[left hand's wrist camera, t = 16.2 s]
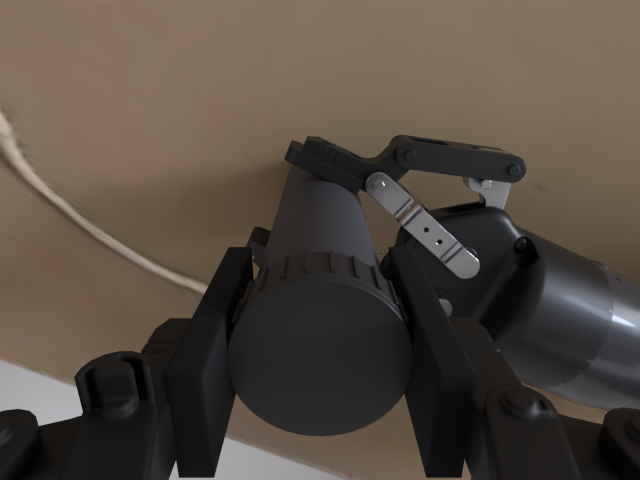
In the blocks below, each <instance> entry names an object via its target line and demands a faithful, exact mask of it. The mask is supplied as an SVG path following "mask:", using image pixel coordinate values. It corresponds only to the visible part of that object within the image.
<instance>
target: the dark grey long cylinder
mask: <svg viewBox="0 0 640 480" xmlns="http://www.w3.org/2000/svg"><path fill="white" fill-rule="evenodd" d="M306 250H310V252H319V251H320V252H329V251H330V250H334V253H339V254H344V255H347V256H350V257H352V256H353V255H355V256H357V259H358V260H360V261H362V262H364V263H366V264H368V265H369V266H371V267H372V266H373V265H374V266H375V267H376V268H377V272H379V273H380V274H381V275H382V276H383V274H382V271H381V267H380V264H379V261H378V258H377V254H376V251H375V248H374V245H373V242H372V238H371V235H370V232H369V229H368V225H367V222H366V219H365V216H364V213H363V209H362V206H361V203H360V200H359V196H358V193H354V192H352V191H350V190H348V189H346V188H344V187H342V186H340V185H337V184H335V183H332V182H330V181H328V180H326V179H324V178H321V177H319V176H317V175H315V174H313V173H310V172H308V171H306V170H304V169H302V168H299V167H297V166H295V165H294V166H293V167H292V169H291V171H290V173H289V175H288V179H287V182H286V185H285V188H284V192H283V195H282V198H281V201H280V205H279V208H278V211H277V214H276V217H275V221H274V224H273V227H272V230H271V234H270V237H269V240H268V243H267V247H266V250H265V253H264V256H263V259H262V263H261V266H260V269H259V272H258V276H259V275H260V274H261V273H262V272H263V268H264V267H265V266H267V267H270V266H271V265H273V264H275V263H276V262H278V261H281V260H283V256H286V255H287V257H290V256H294V255H297V254H302V253H306ZM258 276H257V277H258Z"/></svg>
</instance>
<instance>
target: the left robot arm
mask: <svg viewBox="0 0 640 480" xmlns="http://www.w3.org/2000/svg"><path fill="white" fill-rule="evenodd" d="M388 280H390V281H391V282H392V285H393V288H394V291H395V294H396V296H397V298H401V300H402V303H403V306H404V308H405V311H406V314H407V317H408V319H409V322H410V324H408V325H407V327H408V329H409V332H410V335H411V339H412V342H413V361H412V372H411V379H410V382H409V385H408V387H407V389H406V391H405V393H404V394H405V398H406V401H407V405H408V409H409V413H410V417H411V421H412V424H413V428H414V432H415V436H416V440H417V444H418V447H419V451H420V455H421V459H422V463H423V466H424V470H425V474H426V478H461V477H462V470H463V464H464V458H465V461H466V463H467V466H468V469H469V471H470V474H471V480H640V410H639V409H633V408H625V407H621V408H616V409H611V410H610V411H609V412H608V413H607V414H605V417H604V421H603V424H598V423H593V422H589V421H584V420H580V419H575V418H571V417H568V416H564V415H561V414H558V413H557V411H556V409H555V408H554V406H553V404H552V403H551V402H550V401H549V400H548V399H547V398H545V397H544V396H543V395H542V394H540V393H538V392H536V391H534V390H532V389H530V388H528V387H525V386H523V385H522V384H521V382H520V381H519V379H518V378H517V376H516V375H515V373H514V372H513V370H512V368H511V367H510V365H509V364H508V362H507V361H506V359H505V358H504V356H503V355H502V353H501V352H499V348H498V347H497V345H496V344H495V342H493V339H492V338H491V336H490V334H489V333H488V331H487V330H486V328H485V327H484V326H482V325H481V324H479V323H478V322H477V321H475V320H474V319H473V318H471V317H448V316H447V314H446V312H445V310H444V309H443V307H442V305H441V303H440V301H439V299H438V297H437V295H436V293H435V291H434V289H433V287H432V286H431V284H430V282H429V280H428V278H427V276H426V274H425V272H424V270H423V268H422V266H421V265H420V263H419V261H418V259H417V257H416V255H415V253H414V251H413V249H412V247H389V254H388V270H387V281H388ZM250 281H252V282H253V281H254V280H253V263H252V247H229V248H228V250H227V252H226V254H225V256H224V258H223V260H222V261H221V263H220V265H219V267H218V269H217V271H216V273H215V275H214V277H213V279H212V281H211V283H210V284H209V286H208V288H207V290H206V292H205V294H204V296H203V298H202V300H201V302H200V304H199V306H198V307H197V309H196V311H195V313H194V315H193V317H192V318H170V319H168V320H167V321H166V322H164V323H163V324H162V325H160V326H159V327H157V328H156V329H155V331H154V332H153V334H152V335H151V337H150V338H149V340H148V343H146V345H145V346H144V348H143V349H142V351H141V353H137V352H133V351H118V352H114V353H110V354H105V355H103V356H101V357H98V358H96V359H94V360H92V361H90V362H89V363H87V364H86V365H85V366H83V367H82V368H81V369H80V370H79V371H78V373H77V374H76V375H75V377H74V378H75V382H76V386H77V390H78V394H79V398H80V402H81V406H82V410H83V413H82V416H79V417H75V418H72V419H68V420H64V421H59V422H55V423H51V424H46V425H42V426H39V425H38V422H37V419H36V416H35V415H34V414H32V413H31V412H30V411H27V410H21V409H14V410H6V411H1V412H0V480H169V477H170V475H171V472H172V469H173V466H174V464H175V461H176V462H177V468H178V474H179V478H214V476H215V472H216V468H217V464H218V460H219V456H220V453H221V449H222V445H223V441H224V437H225V434H226V430H227V426H228V422H229V418H230V415H231V411H232V407H233V403H234V399H235V395H236V392H235V390H234V388H233V386H232V383H231V380H230V377H229V367H228V356H227V345H228V341H229V338H230V334H231V331H232V328H233V325H230V324H231V321H232V318H233V316H234V313H235V310H236V307H237V304H238V302H239V299H240V298H241V299H243V297H244V295H245V292H246V289H247V286H248V283H249V282H250Z"/></svg>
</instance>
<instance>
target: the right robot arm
mask: <svg viewBox="0 0 640 480" xmlns="http://www.w3.org/2000/svg"><path fill="white" fill-rule="evenodd" d="M284 159H285V160H286V161H287V162H289V163H291V164H293V165H295V166H297V167H299V168H302V169H304V170H306V171H308V172H310V173H313V174H315V175H317V176H319V177H321V178H324V179H326V180H328V181H330V182H332V183H335V184H337V185H340V186H342V187H344V188H346V189H348V190H350V191H352V192H354V193H358V191H359V189H361V190H363V191H366V192H367V193H368V194H369V195H370V196H371V197H372V198H373V199H375V200H376V201H377V202H378V203H379V204H380V205H381V206H382V207H384V208H385V209H386V210H387V211H388V212H389V213H390V214H391V215H393V216H394V217H395V218H396V219H397V221H398V222H399V223H400V224H401V225H402V226H401V228H400V229H399V231H398V235H397V239H396V243H395V246H394V247H412V249H413V251H414V253H415V255H416V257H417V259H418V261H419V263H420V265H421V266H422V268H423V270H424V272H425V274H426V276H427V278H428V280H429V282H430V284H431V286H432V287H433V289H434V291H435V293H436V295H437V297H438V299H439V301H440V303H441V305H442V307H443V309H444V310H445V312H446V314H447V316H448V317H471V318H473V319H474V320H475V321H477V322H478V323H479V324H481V325H482V326H484V327H485V328H486V330H487V331H488V333H489V334H490V336H491V338H492V339H493V342H495V344H496V345H497V347H498V348H499V352H501V353H502V355H503V356H504V358H505V359H506V361H507V362H508V364H509V365H510V367H511V368H512V370H513V372H514V373H515V375H516V376H517V378H518V379H519V381H521V382H524V383H526V384H529V385H531V386H534V387H536V388H538V389H541V390H543V391H546V392H548V393H551V394H553V395H556V396H558V397H560V398H563V399H566V400H569V401H571V402H575V403H578V404H581V405H585V406H590V407H594V408H598V409H602V410H605V411H607V412H609V411H610V410H611V409H616V408H621V407H625V408H633V409H639V410H640V285H638V284H637V283H635V282H634V281H632V280H630V279H628V278H626V277H624V276H622V275H620V274H618V273H616V272H614V271H612V270H611V269H610V268H608V267H606V265H604V264H602V263H599V262H597V261H593V260H588V259H586V258H584V257H582V256H580V255H578V254H575V253H573V252H571V251H569V250H567V249H565V248H563V247H561V246H558V245H556V244H554V243H552V242H550V241H548V240H546V239H544V238H541V237H539V236H537V235H535V234H533V233H531V232H529V231H527V230H524V229H522V228H520V227H518V226H516V225H515V224H514V223H513V221H512V220H511V218H510V216H509V215H508V214H507V213H506V212H505V211H504V210H503V209H504V206H505V202H506V199H507V196H508V192H509V189H510V186H511V183H515V182H517V181H519V180H521V179H522V178H523V177H524V175H525V173H526V170H527V165H526V162H525V161H524V160H523V159H522V158H520V157H518V156H515V155H513V154H510V153H508V152H506V151H503V150H501V149H499V148H493V147H486V146H479V145H471V144H464V143H457V142H450V141H443V140H435V139H428V138H421V137H414V136H407V135H398V136H395V137H394V138H393V139H392V140H391V141H390V143H389V146H388V147H387V148H386V149H384V150H383V151H382V152H381V153H380V154H379V155H378V156H376V157H374V158H363V157H361V156H358V155H356V154H354V153H352V152H350V151H348V150H346V149H344V148H341V147H339V146H337V145H335V144H333V143H331V142H329V141H327V140H324V139H322V138H320V137H313V136H307V139H306V141H305V143H304V144H301V143H299V142H297V141H292V142H291V144H290V146H289V149H288V151H287V153H286V156H285V158H284ZM410 169H411V170H418V171H425V172H433V173H440V174H448V175H455V176H462V177H463V182H464V184H465V185H466V186H467V187H469V188H470V189H471V190H473V191H474V192H477V193H478V194H479V201H477V202H472V203H467V204H461V205H456V206H451V207H445V208H440V209H435V210H430V209H429V208H428V207H426V206H425V205H424V204H423V203H422V202H421V201H420V200H419V199H418V198H417V197H416V196H415V195H413V194H412V193H411V192H410V191H409V190H408V189H407V188H406V187H404V186H403V185H402V184H401V183H400V182H399V181H398V180H399V179H400V178H401V177H402V176H403V175H404V174H405V173H406V172H408V171H409V170H410ZM270 234H271V231H269V230H266V229H264V228H261V227H254V229H253V232H252V234H251V236H250V239H249V241H248V243H247V246H246V247H252V255H253V256H255V257H254V260H253V262H254V263H255V264H256V265H257V266H258V267H259V268H260V266H261V263H262V259H263V256H264V253H265V250H266V247H267V243H268V240H269V237H270ZM388 254H389V252H388V253H387V254H386V255H385V256H384V258H383V260H382V262H379V264H380V267H381V271H382V274H383V277H384V278H385V279H386V280H387V270H388Z"/></svg>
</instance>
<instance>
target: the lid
mask: <svg viewBox="0 0 640 480" xmlns="http://www.w3.org/2000/svg"><path fill="white" fill-rule="evenodd" d="M408 324H410V322H409V319H408V317H407V314H406V311H405V308H404V306H403V303H402V300H401V298H397V296H396V294H395V291H394V288H393V285H392V282H391V281H390V280H388V281H387V280H386V279H385V278H384V277H383V276H382V275H381V274H380V273H379V272H377V268H376V267H375V266H374V265H373V266H372V267H371V266H369V265H368V264H366V263H364V262H362V261H360V260H358V259H357V256H355V255H353V256H352V257H350V256H347V255H344V254H339V253H334V250H330V251H329V252H320V251H319V252H310V250H306V253H302V254H297V255H294V256H290V257H287V255H286V256H283V260H281V261H278V262H276V263H275V264H273V265H271V266H270V267H267V266H265V267H264V268H263V272H262V273H261V274H260V275H259V276H258V277H257V278H256V279H255V280H254V281H253V282H252V281H250V282H249V283H248V286H247V289H246V292H245V295H244V297H243V299H241V298H240V299H239V302H238V304H237V307H236V310H235V313H234V316H233V318H232V321H231V324H230V325H233V328H232V331H231V334H230V338H229V341H228V345H227V356H228V367H229V377H230V380H231V383H232V386H233V388H234V390H235V392H236V393H237V395H238V396H239V398H240V399H241V401H242V402H243V403H244V404H245V405H246V406H247V407H248V408H249V410H251V411H252V412H253V413H254V414H255V415H257V416H258V417H259V418H261V419H262V420H264V421H265V422H267V423H269V424H271V425H273V426H275V427H277V428H280V429H282V430H285V431H288V432H292V433H296V434H301V435H307V436H333V435H340V434H345V433H349V432H353V431H356V430H358V429H361V428H364V427H366V426H368V425H370V424H372V423H374V422H375V421H377V420H378V419H380V418H381V417H383V416H384V415H385V414H386V413H388V412H389V411H390V410H391V409H392V408H393V407H394V406H395V405H396V404H397V403H398V401H399V400H400V399H401V397H402V396H403V394H404V393H405V391H406V389H407V387H408V385H409V382H410V379H411V372H412V361H413V342H412V339H411V335H410V332H409V329H408V327H407V325H408Z"/></svg>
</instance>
